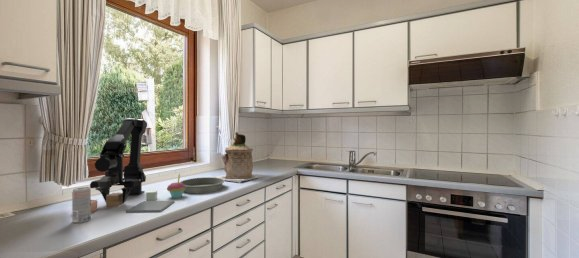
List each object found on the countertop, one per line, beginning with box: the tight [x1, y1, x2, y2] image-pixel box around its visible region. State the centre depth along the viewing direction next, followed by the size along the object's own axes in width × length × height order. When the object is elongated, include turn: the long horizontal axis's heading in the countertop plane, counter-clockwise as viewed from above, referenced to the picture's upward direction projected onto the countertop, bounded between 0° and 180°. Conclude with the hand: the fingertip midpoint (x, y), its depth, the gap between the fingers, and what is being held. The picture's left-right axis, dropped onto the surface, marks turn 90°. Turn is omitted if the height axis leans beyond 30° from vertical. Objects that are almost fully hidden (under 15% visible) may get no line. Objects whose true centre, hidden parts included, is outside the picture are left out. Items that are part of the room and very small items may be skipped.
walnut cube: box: [105, 192, 125, 208], centre depth 117 cm, size 5×5×5 cm
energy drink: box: [71, 186, 92, 224], centre depth 97 cm, size 5×5×12 cm
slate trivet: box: [125, 200, 175, 213], centre depth 114 cm, size 14×14×1 cm
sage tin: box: [145, 189, 158, 201], centre depth 126 cm, size 4×4×4 cm
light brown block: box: [91, 199, 98, 214], centre depth 108 cm, size 7×7×4 cm
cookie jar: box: [213, 131, 263, 184], centre depth 178 cm, size 25×25×32 cm
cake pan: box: [180, 176, 225, 194], centre depth 148 cm, size 25×25×4 cm
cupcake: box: [166, 173, 186, 199], centre depth 131 cm, size 9×8×12 cm
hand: (115, 202), depth 117 cm, fingers open, 7 cm apart
